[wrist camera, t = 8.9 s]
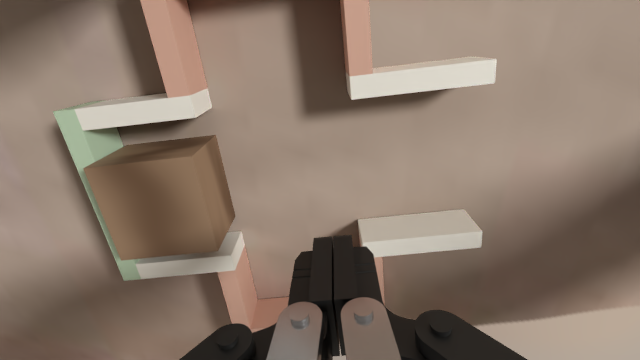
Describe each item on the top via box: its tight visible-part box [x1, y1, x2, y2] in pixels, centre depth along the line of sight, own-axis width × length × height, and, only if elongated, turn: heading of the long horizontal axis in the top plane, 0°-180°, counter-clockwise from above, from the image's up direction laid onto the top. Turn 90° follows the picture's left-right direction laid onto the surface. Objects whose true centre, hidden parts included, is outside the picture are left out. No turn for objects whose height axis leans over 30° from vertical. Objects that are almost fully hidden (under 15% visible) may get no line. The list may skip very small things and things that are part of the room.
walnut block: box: [83, 135, 235, 261], centre depth 21 cm, size 6×6×4 cm
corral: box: [53, 0, 497, 333], centre depth 21 cm, size 24×24×3 cm
